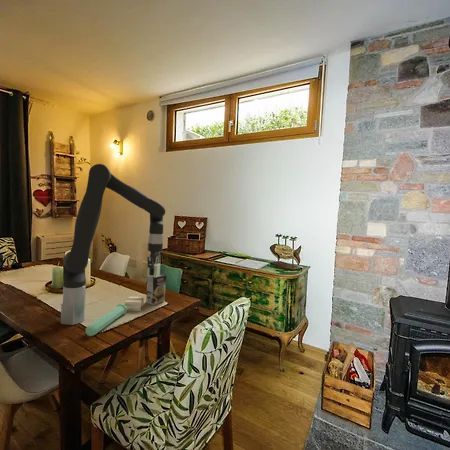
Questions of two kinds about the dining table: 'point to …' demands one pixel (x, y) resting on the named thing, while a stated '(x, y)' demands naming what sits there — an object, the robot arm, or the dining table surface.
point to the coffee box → (156, 289)
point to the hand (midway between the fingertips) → (153, 273)
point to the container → (105, 320)
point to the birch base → (134, 303)
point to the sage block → (156, 271)
